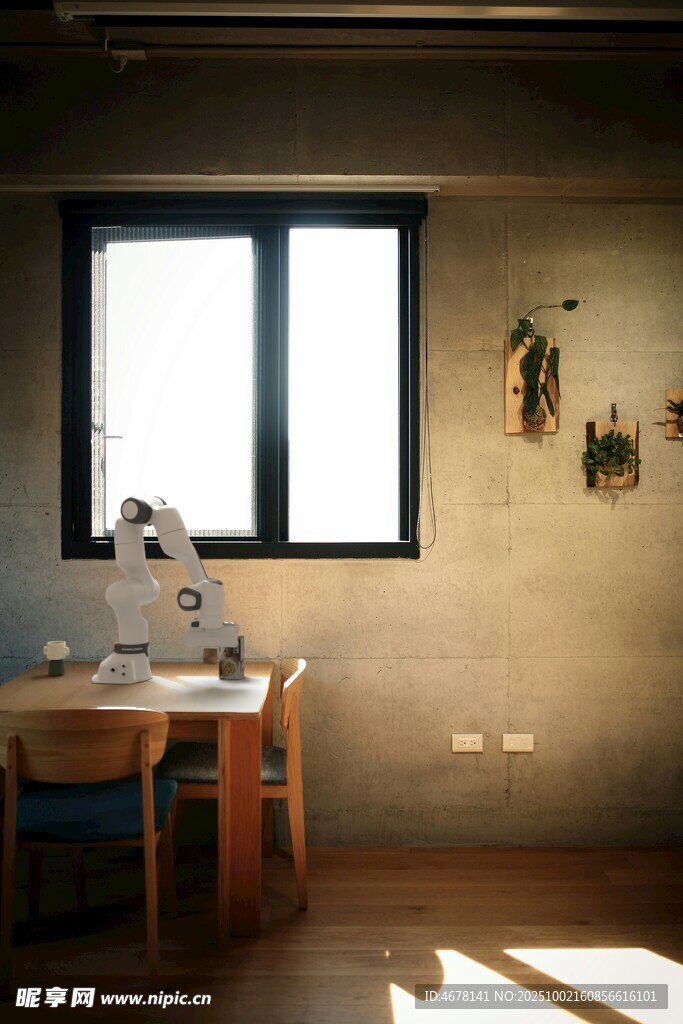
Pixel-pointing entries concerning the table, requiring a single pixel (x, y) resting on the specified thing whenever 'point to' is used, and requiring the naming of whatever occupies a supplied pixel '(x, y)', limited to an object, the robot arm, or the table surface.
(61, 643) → the trophy cup
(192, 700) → the table surface
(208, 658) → the walnut cube
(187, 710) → the table surface
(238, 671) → the coffee box
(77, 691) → the table surface
